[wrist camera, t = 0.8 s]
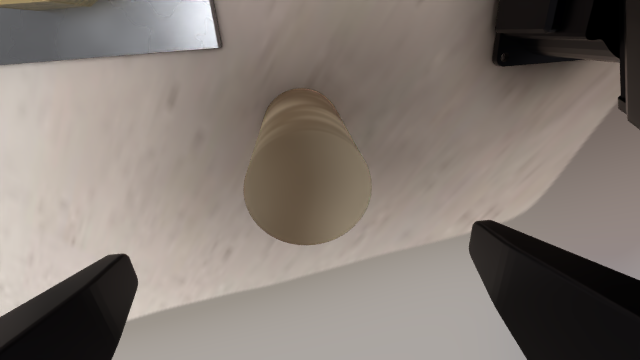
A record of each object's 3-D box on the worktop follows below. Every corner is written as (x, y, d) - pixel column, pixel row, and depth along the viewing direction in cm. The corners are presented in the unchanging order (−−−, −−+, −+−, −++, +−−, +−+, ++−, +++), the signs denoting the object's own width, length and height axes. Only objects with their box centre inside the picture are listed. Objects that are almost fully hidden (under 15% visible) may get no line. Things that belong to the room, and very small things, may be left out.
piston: (337, 85, 19) (371, 124, 11) (340, 159, 21) (371, 238, 13) (257, 91, 19) (232, 137, 11) (269, 165, 21) (254, 251, 13)
